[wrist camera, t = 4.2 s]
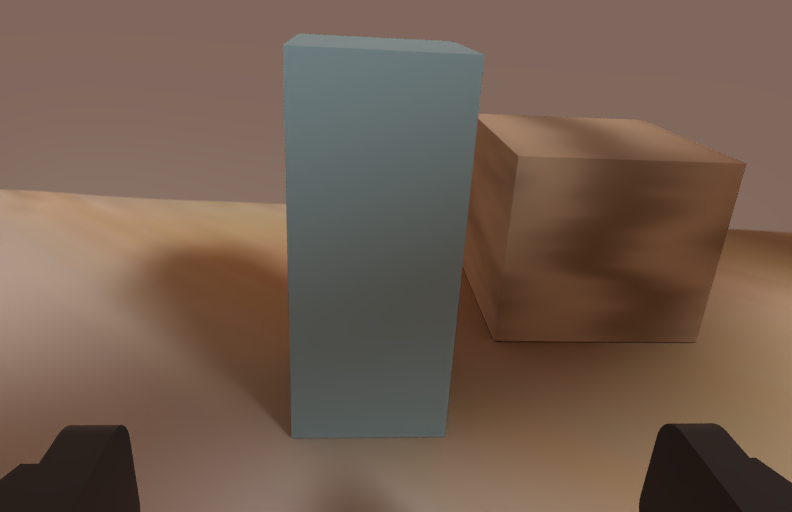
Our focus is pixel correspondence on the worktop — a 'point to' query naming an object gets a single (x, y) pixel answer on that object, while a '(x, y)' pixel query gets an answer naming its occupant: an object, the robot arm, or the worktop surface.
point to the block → (594, 228)
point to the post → (375, 229)
